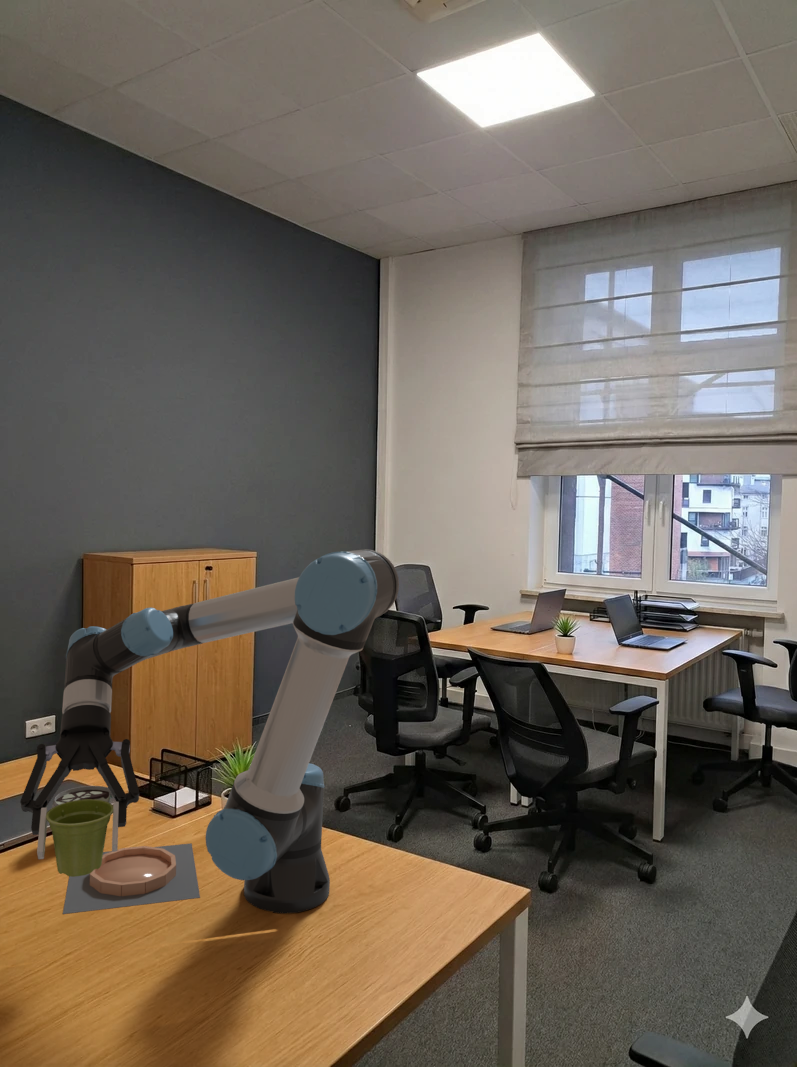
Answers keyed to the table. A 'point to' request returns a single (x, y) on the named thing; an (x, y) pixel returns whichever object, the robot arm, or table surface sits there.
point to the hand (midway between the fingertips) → (78, 851)
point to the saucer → (134, 871)
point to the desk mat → (178, 888)
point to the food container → (83, 794)
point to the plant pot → (79, 834)
